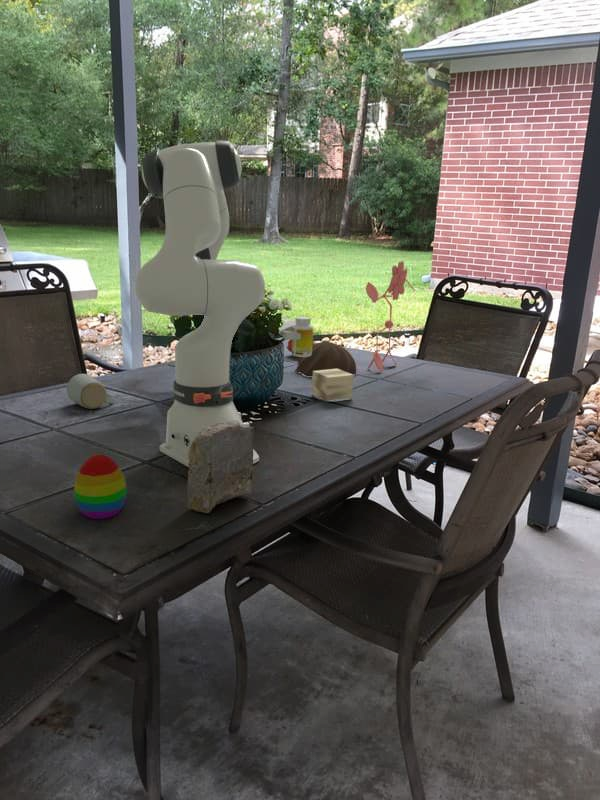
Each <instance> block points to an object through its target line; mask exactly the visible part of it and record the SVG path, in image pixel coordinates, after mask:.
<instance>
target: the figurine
mask: <svg viewBox="0 0 600 800" xmlns="http://www.w3.org/2000/svg"><path fill="white" fill-rule="evenodd" d="M404 263H405V262H404V260H401V261H399V262H398V264H397V265H393V266H392V268H391V278H390V283H389V285H388V288H387V289H386V290H385V292H384V293H383V294H382V295H381V296H379V292H378V289H377V288H376V286H374V285H373V284H372V283H370V281H368V282H367V284H366V287H365V291H366V294H367V296H368V298H369V299H371V300H372V301H371V302H372V303H373V304H374V303H375V304H376V303H377V302H378V301H379V300H380V299H382V298H384V300H386V302H387V304H388V305H389V319H388V320H385V322H384V327H383V328H382V329H381V330H379V331H378V332H377V333H376V351H374V353H372V354H373V355H372V356H373V359H372V360H371V362H370V363H369V365H368V367H367V368H369V369H370V368H371V367H372V365H373V363H374V364H375V366H376V368H377V369H378V370H379V372H380V371H381V372H382V373H383V371H384V362H385V360H386V357H388V355H389V356H390V358H391V359H392V361H393V363H394V365H395V366H397V363H396V361H395V359H394V357H393V355H392V353H391V328H393V326H394V322H393V321H392V311H393V306H392V304H391V302H390V301H389V299H388V298H392V301H395V300H396V301H398V300H399V296H400V295H404V293H405V286H404V285H405V283H407V284H408V285H409V286H410V288H411V290H413V292H415V291H416V290H415V288H414V287H413V285H412V284H411V283H410V282H409V281H408V279H407V276H408V268H405V269H404V267H405V266H404V265H405V264H404ZM387 293H388V294H387ZM389 294H390V295H389ZM386 329H388V347H389V348H388V347H387V348H386V349H387V352H386V354H385V355H384V357H383V358H382V357H381V356H380V354H379V353H378V352H379V351H378V350H379V349H378V347H379V346H378V345H379V344H378V339H379V334H380V333H381V332H383V331H384V330H386ZM381 372H380V373H381Z"/></svg>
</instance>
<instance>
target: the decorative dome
mask: <svg viewBox="0 0 600 800" xmlns="http://www.w3.org/2000/svg"><path fill="white" fill-rule="evenodd" d="M328 369H340V370H342V371H345V372H348V373H350V374H355V375H356V374H357V372H356V371H357V363H356V360H355V358H354V357H353V356H352V354H351V353H350V352H349V351H348V350H347V349H345V348H344V347H343V346H341V345H340V344H337V343H335V342H331V341H321V342H317V343H315V344H314V345H312V355H311V356H309V357H298V360H297V367H296V370H295V372H296V371H297V372H301V373H303V374H304V375H306V376H313V371H318V370H328Z"/></svg>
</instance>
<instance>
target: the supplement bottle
mask: <svg viewBox="0 0 600 800" xmlns="http://www.w3.org/2000/svg"><path fill="white" fill-rule="evenodd" d="M295 320H296V321H295V322H296V324H294V325H293V327H292V332H301V333H302V339H300V340H296V339H292V352H291V355H292V356H295V357H296V358H297V357H298V358H299V357H309V356H311V355H312V343H314V340H313V339H314V338H313V337H314V327H313V325H312V324H311V317H308V316H297V317H295Z"/></svg>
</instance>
